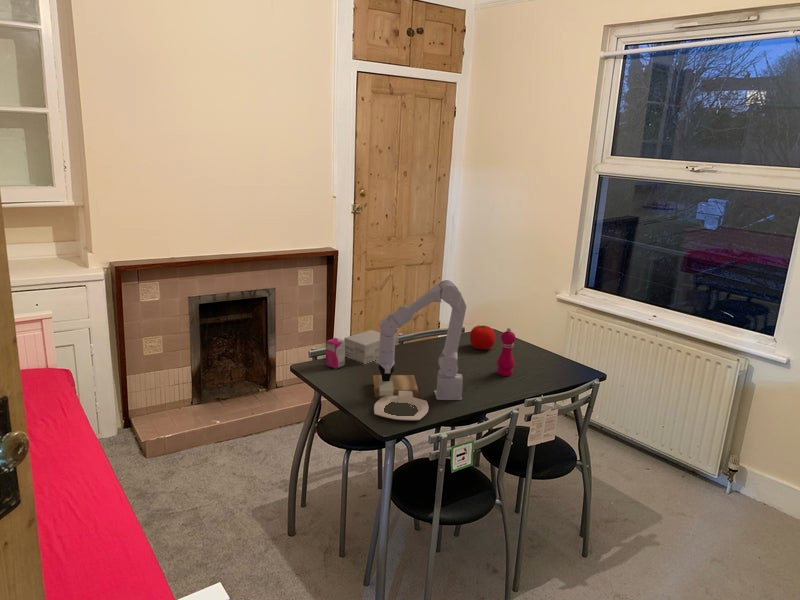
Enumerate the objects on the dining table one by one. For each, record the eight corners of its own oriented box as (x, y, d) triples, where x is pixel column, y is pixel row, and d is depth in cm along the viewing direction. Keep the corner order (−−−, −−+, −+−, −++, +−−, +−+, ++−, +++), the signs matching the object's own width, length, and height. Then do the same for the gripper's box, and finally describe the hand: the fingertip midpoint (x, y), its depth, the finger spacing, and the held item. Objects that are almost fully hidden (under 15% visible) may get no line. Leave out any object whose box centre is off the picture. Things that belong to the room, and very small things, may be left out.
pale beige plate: (423, 427, 202) (423, 422, 201) (368, 420, 205) (368, 414, 205) (432, 404, 220) (432, 399, 219) (381, 397, 224) (381, 392, 223)
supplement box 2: (370, 348, 274) (370, 329, 272) (391, 356, 266) (392, 336, 264) (343, 357, 262) (343, 337, 260) (364, 365, 254) (365, 344, 251)
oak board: (413, 383, 237) (413, 375, 236) (417, 398, 223) (418, 389, 222) (373, 383, 235) (373, 375, 234) (374, 398, 222) (375, 389, 221)
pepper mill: (493, 374, 250) (497, 328, 245) (499, 368, 256) (503, 324, 251) (510, 377, 247) (514, 331, 241) (515, 372, 253) (520, 327, 248)
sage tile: (392, 386, 223) (392, 381, 222) (393, 395, 219) (393, 390, 217) (378, 386, 222) (379, 381, 221) (379, 395, 218) (379, 390, 217)
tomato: (490, 343, 288) (492, 322, 285) (496, 353, 275) (498, 330, 272) (466, 343, 287) (468, 321, 284) (471, 352, 274) (473, 330, 271)
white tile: (411, 397, 220) (412, 391, 220) (412, 402, 216) (413, 396, 215) (398, 396, 220) (398, 390, 220) (398, 402, 215) (399, 396, 215)
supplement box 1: (335, 362, 255) (335, 337, 252) (345, 366, 251) (345, 340, 248) (325, 366, 251) (325, 340, 248) (335, 369, 247) (335, 343, 244)
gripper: (375, 343, 226) (373, 376, 230) (377, 356, 212) (375, 392, 216) (393, 343, 227) (392, 376, 230) (396, 356, 213) (395, 392, 216)
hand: (385, 384), depth 223 cm, fingers closed
